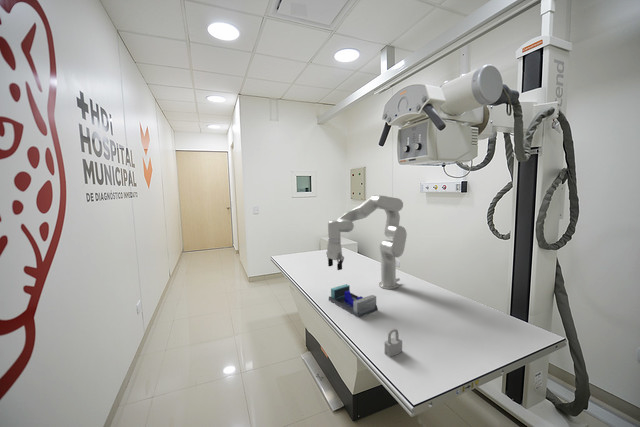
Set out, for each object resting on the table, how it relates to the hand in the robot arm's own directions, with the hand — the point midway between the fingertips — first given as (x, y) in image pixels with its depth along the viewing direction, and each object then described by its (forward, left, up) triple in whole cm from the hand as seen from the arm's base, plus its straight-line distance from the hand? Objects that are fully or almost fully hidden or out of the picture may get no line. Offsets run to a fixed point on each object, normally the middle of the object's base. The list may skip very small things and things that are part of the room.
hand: (335, 267), depth 163 cm
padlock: (+15, +59, -19) cm, 64 cm away
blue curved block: (0, +18, -17) cm, 25 cm away
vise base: (0, +15, -18) cm, 24 cm away
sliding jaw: (0, +5, -17) cm, 17 cm away
